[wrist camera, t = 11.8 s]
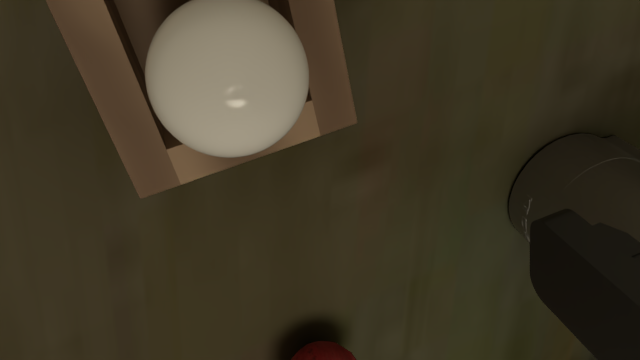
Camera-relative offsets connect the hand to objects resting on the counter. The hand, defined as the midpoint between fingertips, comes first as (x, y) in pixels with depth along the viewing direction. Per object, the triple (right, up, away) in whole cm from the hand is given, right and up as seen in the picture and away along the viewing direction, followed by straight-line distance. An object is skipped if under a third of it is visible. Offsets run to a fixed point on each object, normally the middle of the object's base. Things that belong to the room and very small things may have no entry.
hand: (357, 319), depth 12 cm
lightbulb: (-7, +11, +18) cm, 22 cm away
